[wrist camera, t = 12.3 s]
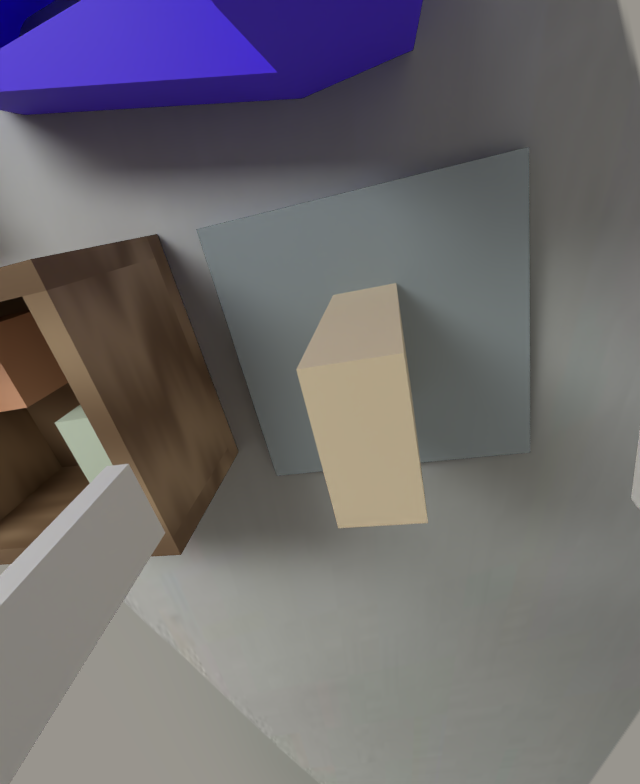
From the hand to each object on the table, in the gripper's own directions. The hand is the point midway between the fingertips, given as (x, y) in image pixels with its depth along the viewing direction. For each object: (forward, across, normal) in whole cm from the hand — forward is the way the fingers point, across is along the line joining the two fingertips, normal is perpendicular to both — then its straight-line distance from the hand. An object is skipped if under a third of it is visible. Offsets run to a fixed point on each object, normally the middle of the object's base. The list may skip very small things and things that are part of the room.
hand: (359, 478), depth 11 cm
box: (+11, -16, 0) cm, 20 cm away
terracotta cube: (+10, -18, +3) cm, 21 cm away
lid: (+12, 0, 0) cm, 12 cm away
